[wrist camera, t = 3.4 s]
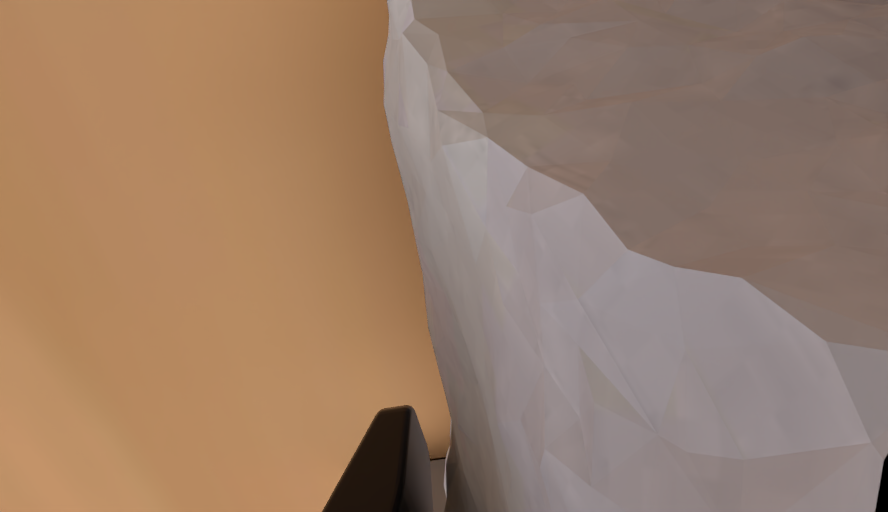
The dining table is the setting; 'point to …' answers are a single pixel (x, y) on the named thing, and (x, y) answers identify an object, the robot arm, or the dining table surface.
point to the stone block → (651, 248)
